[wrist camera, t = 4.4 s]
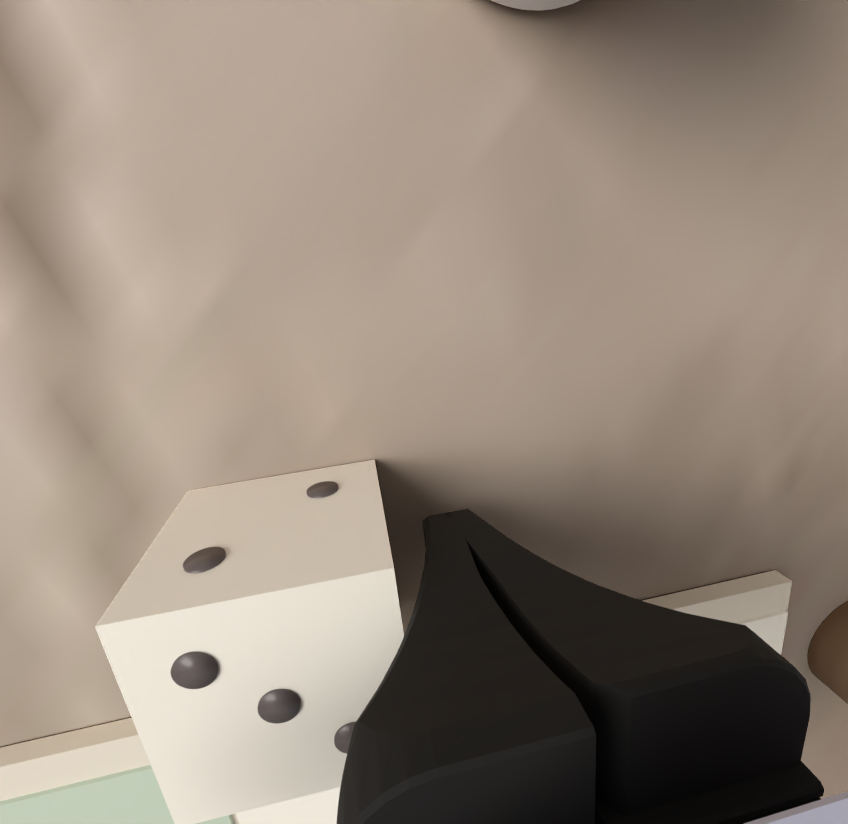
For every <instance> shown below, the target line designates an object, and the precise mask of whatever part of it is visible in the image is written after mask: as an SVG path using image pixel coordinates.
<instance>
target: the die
mask: <svg viewBox="0 0 848 824" xmlns="http://www.w3.org/2000/svg"><path fill="white" fill-rule="evenodd" d="M400 608H401V607H400V600H399V594H398V588H397V582H396V576H395V572H394V566H393V560H392V554H391V549H390V543H389V538H388V532H387V526H386V521H385V515H384V510H383V504H382V498H381V493H380V487H379V481H378V476H377V470H376V465H375V460H369V461H363V462H357V463H351V464H345V465H339V466H333V467H327V468H321V469H314V470H308V471H302V472H296V473H290V474H284V475H278V476H272V477H266V478H260V479H254V480H248V481H242V482H236V483H230V484H224V485H218V486H212V487H206V488H200V489H193V490H188V491H187V492H186V494H185V495H184V496H183V498H182V499H181V501H180V502H179V504H178V505H177V507H176V508H175V510H174V511H173V513H172V514H171V516H170V517H169V519H168V520H167V521H166V523H165V524H164V526H163V527H162V529H161V530H160V532H159V533H158V535H157V536H156V538H155V539H154V541H153V542H152V543H151V545H150V546H149V548H148V549H147V551H146V552H145V554H144V555H143V557H142V558H141V560H140V561H139V563H138V564H137V566H136V567H135V568H134V570H133V571H132V573H131V574H130V576H129V577H128V579H127V580H126V582H125V583H124V585H123V586H122V588H121V589H120V590H119V592H118V593H117V595H116V596H115V598H114V599H113V601H112V602H111V604H110V605H109V607H108V608H107V610H106V611H105V612H104V614H103V615H102V617H101V618H100V620H99V621H98V623H97V624H96V626H95V628H96V630H97V633H98V635H99V638H100V640H101V643H102V645H103V648H104V650H105V653H106V655H107V658H108V660H109V663H110V665H111V668H112V670H113V673H114V675H115V677H116V680H117V682H118V685H119V687H120V690H121V692H122V695H123V697H124V700H125V702H126V705H127V707H128V710H129V712H130V715H131V717H132V720H133V722H134V725H135V727H136V729H137V732H138V734H139V737H140V739H141V742H142V744H143V747H144V749H145V752H146V754H147V757H148V759H149V762H150V764H151V767H152V769H153V772H154V774H155V777H156V779H157V781H158V784H159V786H160V789H161V791H162V794H163V796H164V799H165V801H166V804H167V806H168V809H169V811H170V814H171V816H172V819H173V821H174V824H196V823H200V822H204V821H208V820H212V819H216V818H220V817H223V816H227V815H231V814H235V813H239V812H243V811H247V810H251V809H255V808H259V807H263V806H267V805H271V804H275V803H279V802H283V801H287V800H291V799H295V798H299V797H302V796H306V795H310V794H314V793H318V792H322V791H326V790H330V789H334V788H338V787H341V781H342V775H343V770H344V766H345V761H346V757H347V752H348V748H349V744H350V740H351V736H352V732H353V728H354V725H355V722H356V721H357V720H358V718H359V717H360V715H361V713H362V712H363V710H364V709H365V707H366V706H367V704H368V703H369V701H370V700H371V698H372V697H373V695H374V694H375V692H376V690H377V689H378V687H379V685H380V684H381V682H382V680H383V678H384V676H385V675H386V673H387V671H388V669H389V667H390V665H391V663H392V661H393V659H394V657H395V655H396V653H397V651H398V649H399V647H400V645H401V642H402V640H403V638H404V632H403V626H402V619H401V612H400Z"/></svg>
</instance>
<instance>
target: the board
mask: <svg viewBox="0 0 848 824" xmlns="http://www.w3.org/2000/svg"><path fill="white" fill-rule="evenodd" d="M791 586H792V581H791V580H790V579H788V578H787V577H785V576H784V575H782V574H781V573H779V572H778V571H776V570H774V571H769V572H765V573H760V574H756V575H752V576H747V577H743V578H739V579H734V580H730V581H726V582H721V583H717V584H712V585H708V586H704V587H699V588H695V589H691V590H686V591H682V592H677V593H673V594H669V595H664V596H660V597H656V598H651V599H647V600H643V601H644V602H647V603H650V604H654V605H658V606H661V607H665V608H669V609H672V610H676V611H680V612H684V613H688V614H692V615H697V616H702V617H707V618H712V619H717V620H722V621H727V622H732V623H737V624H741V625H746V626H747V627H748V628H750V629H751V630H752V631H753V632H755V633H756V634H757V635H758V636H759V637H760V638H762V639H763V640H764V641H765V642H766V643H767V644H768V645H770V646H771V647H772V648H773V649H774V650H775V651H777V652H778V653H779V654H780V655H781V652H782V646H783V640H784V635H785V629H786V623H787V617H788V612H787V610H788V604H789V598H790V592H791ZM339 794H340V787H338V788H334V789H330V790H326V791H322V792H318V793H314V794H310V795H306V796H302V797H299V798H295V799H291V800H287V801H283V802H279V803H275V804H271V805H267V806H263V807H259V808H255V809H251V810H247V811H243V812H239V813H235V814H231V815H227V816H223V817H220V818H216V819H212V820H208V821H204V822H200V823H196V824H337V812H338V801H339ZM0 824H174V821H173V819H172V816H171V814H170V811H169V809H168V806H167V804H166V801H165V799H164V796H163V794H162V791H161V789H160V786H159V784H158V781H157V779H156V777H155V774H154V772H153V769H152V767H151V764H150V762H149V759H148V757H147V754H146V752H145V749H144V747H143V744H142V742H141V739H140V737H139V734H138V732H137V729H136V727H135V725H134V722H133V720H132V718H127V719H123V720H119V721H114V722H110V723H106V724H101V725H97V726H93V727H88V728H84V729H79V730H75V731H71V732H66V733H62V734H58V735H53V736H49V737H45V738H40V739H36V740H31V741H27V742H23V743H18V744H14V745H10V746H5V747H1V748H0Z"/></svg>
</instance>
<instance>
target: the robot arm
mask: <svg viewBox="0 0 848 824" xmlns="http://www.w3.org/2000/svg"><path fill="white" fill-rule="evenodd" d="M423 529H424V537H425V546H426V554H425V564H424V570H423V575H422V580H421V585H420V590H419V594H418V597H417V601H416V604H415V608H414V611H413V614H412V617H411V620H410V622H409V625H408V627H407V630H406V633H405V635H404V638H403V640H402V642H401V645H400V647H399V649H398V651H397V653H396V655H395V657H394V659H393V661H392V663H391V665H390V667H389V669H388V671H387V673H386V675H385V676H384V678H383V680H382V682H381V684H380V685H379V687H378V689H377V690H376V692H375V694H374V695H373V697H372V698H371V700H370V701H369V703H368V704H367V706H366V707H365V709H364V710H363V712H362V713H361V715H360V717H359V718H358V720H357V721H356V722H355V725H354V728H353V732H352V736H351V740H350V744H349V748H348V752H347V757H346V761H345V766H344V770H343V775H342V781H341V787H340V794H339V801H338V812H337V824H848V791H847V792H843V793H840V794H837V795H834V796H831V797H827V798H824V799H820V798H819V797H821V796H823V793H824V788H823V786H822V784H821V782H820V781H819V780H818V779H817V777H816V776H815V775H814V774H813V773H812V772H811V771H810V770H809V769H808V768H807V767H806V766H805V765H804V764H803V763H802V762H801V761H800V760H801V756H802V751H803V746H804V741H805V736H806V731H807V727H808V722H809V717H810V692H809V689H808V686H807V683H806V679H805V678H804V677H803V676H802V675H801V674H800V673H799V671H798V670H797V669H796V668H795V667H794V666H793V665H792V664H790V663H789V662H788V661H787V660H786V659H785V658H783V657H782V656H781V655H780V654H779V653H778V652H777V651H775V650H774V649H773V648H772V647H771V646H770V645H768V644H767V643H766V642H765V641H764V640H763V639H762V638H760V637H759V636H758V635H757V634H756V633H755V632H753V631H752V630H751V629H750V628H748V627H747V626H746V625H741V624H737V623H732V622H727V621H722V620H717V619H712V618H707V617H702V616H697V615H692V614H688V613H684V612H680V611H676V610H672V609H669V608H665V607H661V606H658V605H654V604H650V603H647V602H644V601H641V600H638V599H634V598H631V597H628V596H626V595H623V594H620V593H617V592H615V591H612V590H609V589H606V588H604V587H601V586H598V585H596V584H594V583H591V582H589V581H586V580H584V579H582V578H580V577H578V576H575V575H573V574H571V573H569V572H567V571H565V570H563V569H561V568H559V567H557V566H555V565H553V564H551V563H549V562H547V561H545V560H544V559H542V558H540V557H538V556H537V555H535V554H533V553H531V552H530V551H528V550H527V549H525V548H523V547H522V546H520V545H518V544H517V543H515V542H514V541H512V540H511V539H509V538H508V537H506V536H505V535H503V534H502V533H501V532H499V531H498V530H496V529H495V528H493V527H492V526H491V525H489V524H488V523H487V522H485V521H484V520H483V519H481V518H480V517H478V516H477V515H476V514H474V513H473V512H472V511H470V510H469V509H465V510H460V511H455V512H449V513H444V514H439V515H433V516H428V517H426V518H425V519H424V521H423Z"/></svg>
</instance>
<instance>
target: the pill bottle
mask: <svg viewBox="0 0 848 824" xmlns="http://www.w3.org/2000/svg"><path fill="white" fill-rule="evenodd" d="M491 1H493V2H496V3H498V4H501V5H504V6H507V7H512V8H516V9H521V10H539V11H542V10H551V9H556V8H560V7H564V6H567V5H570V4H574V3H576V2H578V1H580V0H491Z"/></svg>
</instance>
